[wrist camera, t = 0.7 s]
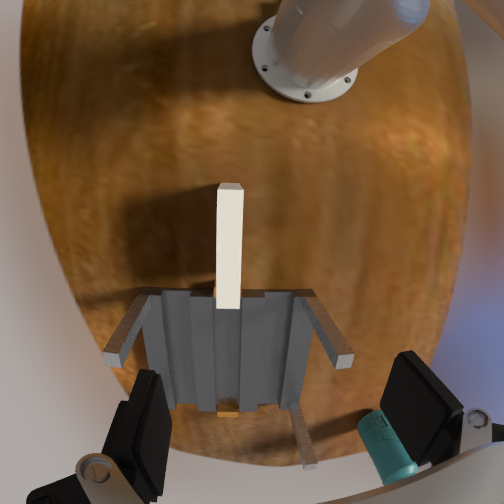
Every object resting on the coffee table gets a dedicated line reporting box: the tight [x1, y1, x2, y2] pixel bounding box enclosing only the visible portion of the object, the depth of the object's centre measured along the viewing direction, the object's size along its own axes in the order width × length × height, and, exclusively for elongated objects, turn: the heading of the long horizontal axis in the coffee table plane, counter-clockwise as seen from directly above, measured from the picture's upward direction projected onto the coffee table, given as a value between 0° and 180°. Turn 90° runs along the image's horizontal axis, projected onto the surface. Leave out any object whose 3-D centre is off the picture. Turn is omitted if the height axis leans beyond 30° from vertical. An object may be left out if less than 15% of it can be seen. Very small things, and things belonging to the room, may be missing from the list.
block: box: [216, 183, 244, 309], centre depth 28 cm, size 10×2×10 cm, turn 178°
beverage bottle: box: [357, 410, 418, 486], centre depth 35 cm, size 6×7×20 cm
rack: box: [102, 280, 354, 470], centre depth 31 cm, size 21×21×14 cm
